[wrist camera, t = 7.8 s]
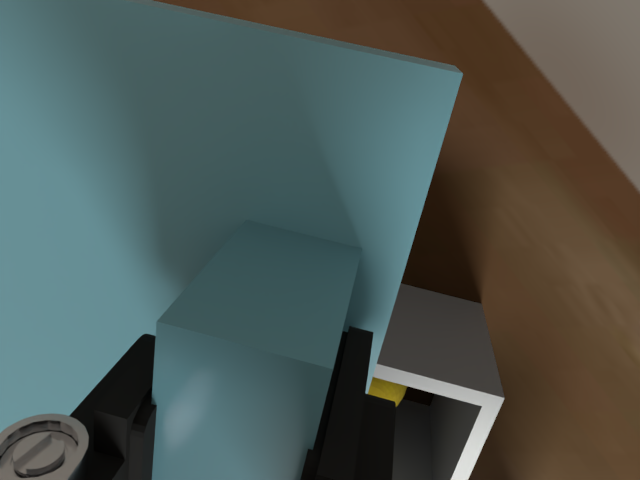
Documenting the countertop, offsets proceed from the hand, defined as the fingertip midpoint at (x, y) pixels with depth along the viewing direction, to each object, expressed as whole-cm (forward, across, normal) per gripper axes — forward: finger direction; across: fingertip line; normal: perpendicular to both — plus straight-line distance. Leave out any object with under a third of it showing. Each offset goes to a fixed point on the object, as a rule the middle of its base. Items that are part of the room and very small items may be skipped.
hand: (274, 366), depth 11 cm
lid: (+3, +6, 0) cm, 6 cm away
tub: (+27, -4, +17) cm, 32 cm away
